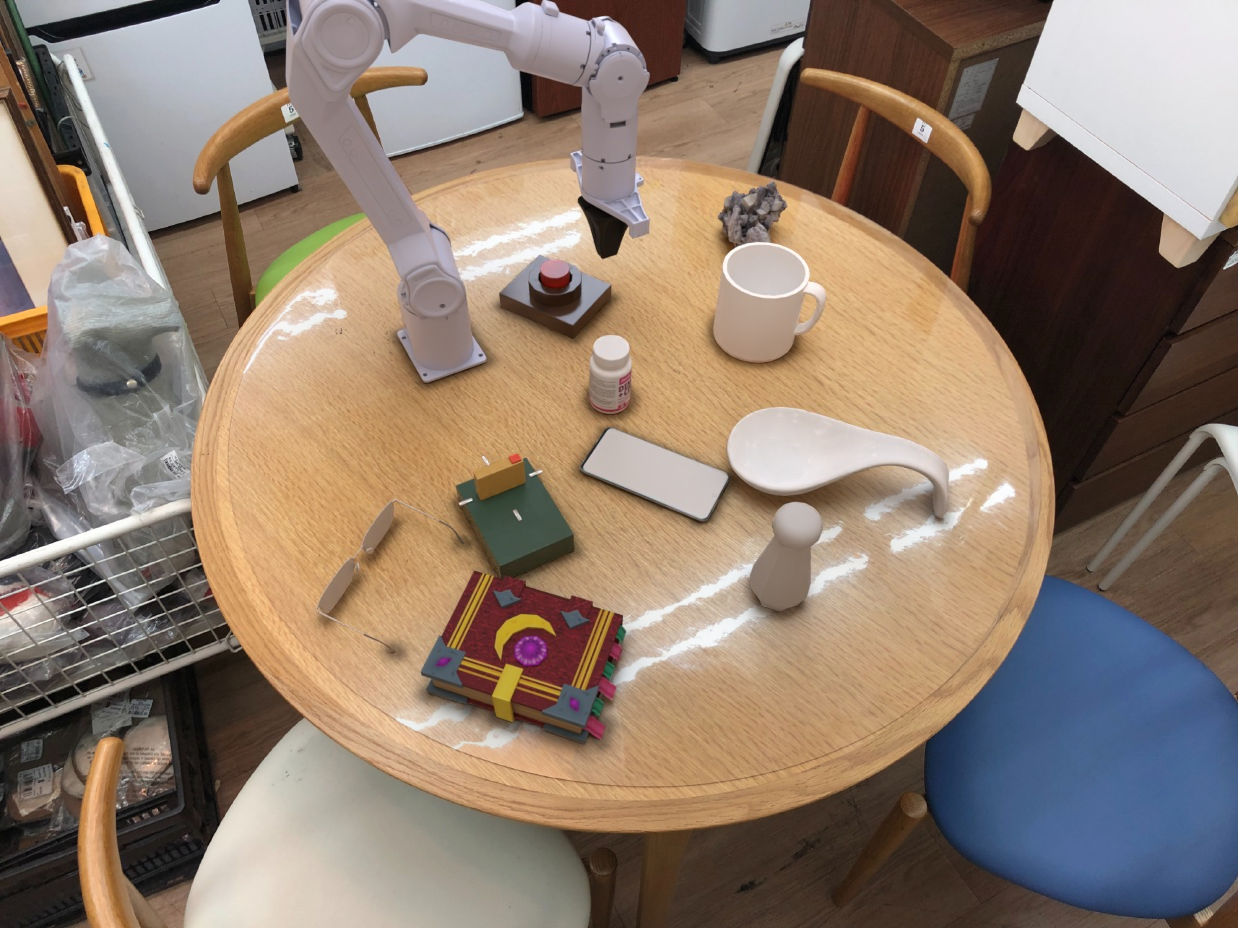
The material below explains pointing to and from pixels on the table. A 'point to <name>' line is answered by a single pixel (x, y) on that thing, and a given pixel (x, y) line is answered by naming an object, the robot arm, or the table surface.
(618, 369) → the pill bottle
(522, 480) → the red-dot tan block
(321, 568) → the table surface
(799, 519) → the salt shaker
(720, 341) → the mug
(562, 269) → the button
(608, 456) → the smartphone
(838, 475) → the spoon rest
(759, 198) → the mineral specimen
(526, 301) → the dark button base
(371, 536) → the eyeglasses
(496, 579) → the decorative book
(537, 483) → the dark green flat block
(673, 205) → the table surface
